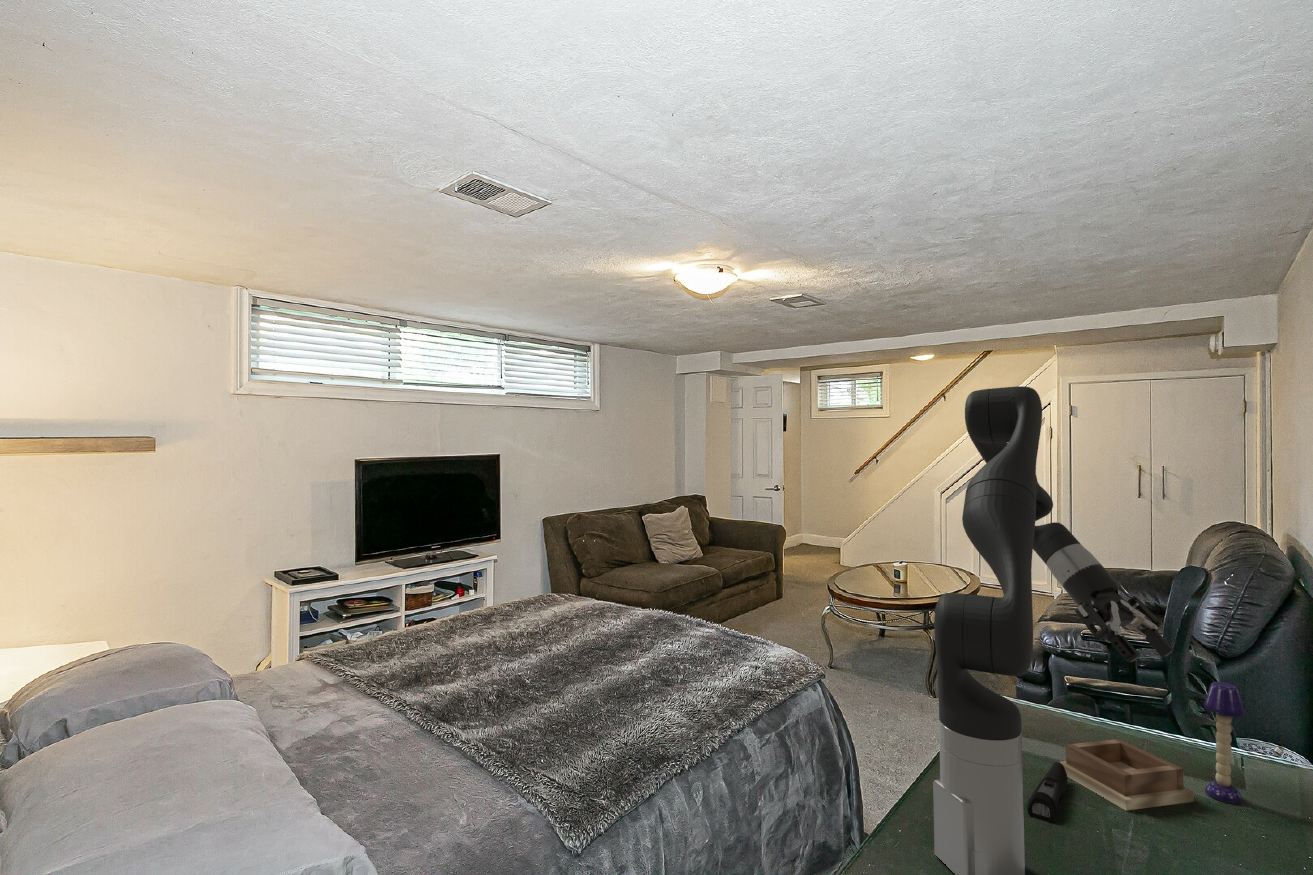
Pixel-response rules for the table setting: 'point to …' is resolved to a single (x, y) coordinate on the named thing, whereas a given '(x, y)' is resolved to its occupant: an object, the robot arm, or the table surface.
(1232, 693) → the toy lamp
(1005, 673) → the robot arm
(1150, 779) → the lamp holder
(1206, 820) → the table surface
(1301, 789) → the table surface
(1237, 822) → the table surface
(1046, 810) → the electric trimmer
